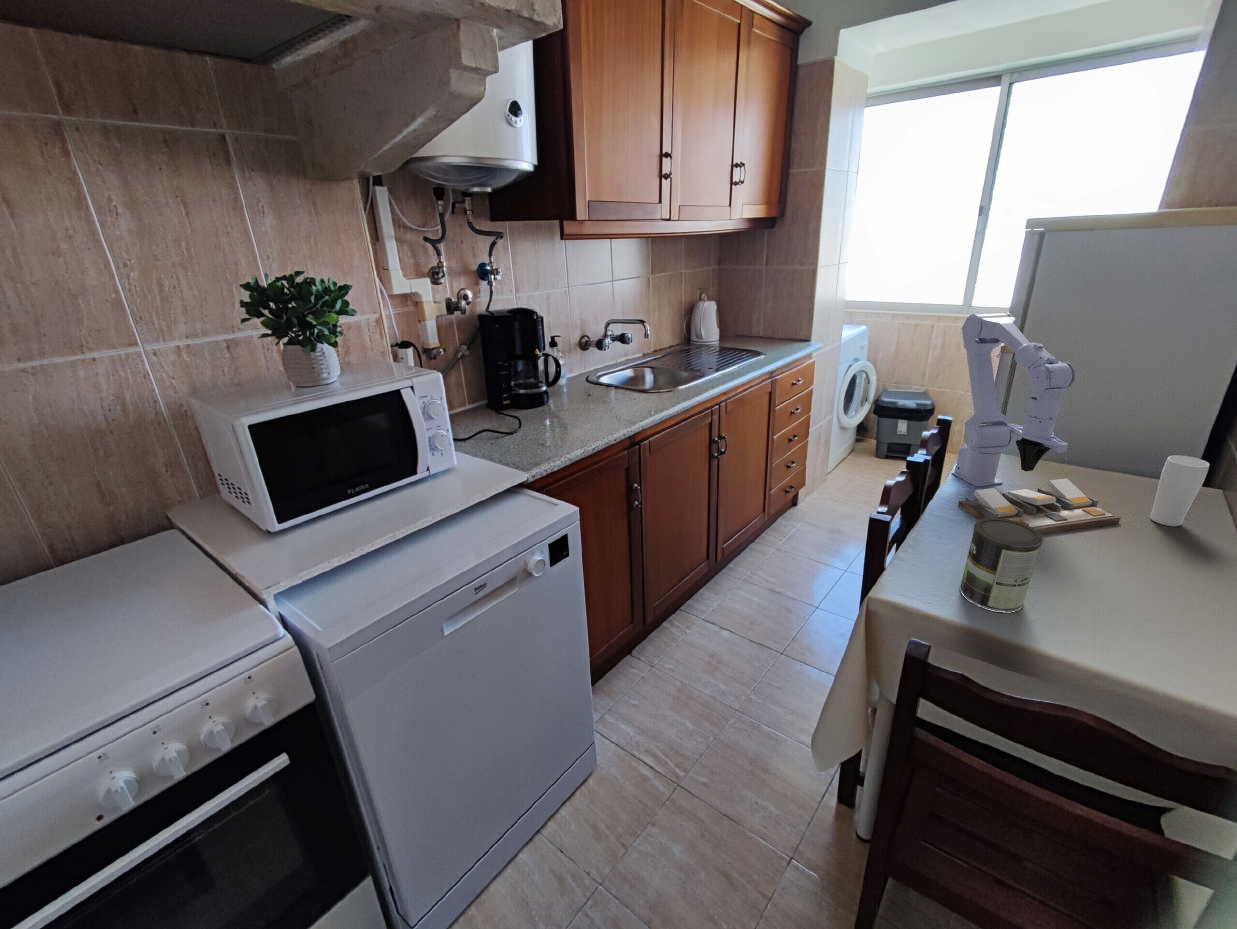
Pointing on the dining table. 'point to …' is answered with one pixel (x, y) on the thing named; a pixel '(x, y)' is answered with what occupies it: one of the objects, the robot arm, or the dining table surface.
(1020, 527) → the coffee can
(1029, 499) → the rocker middle
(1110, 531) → the dining table surface
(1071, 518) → the switch board
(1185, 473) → the drinking glass
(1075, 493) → the rocker
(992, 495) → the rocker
